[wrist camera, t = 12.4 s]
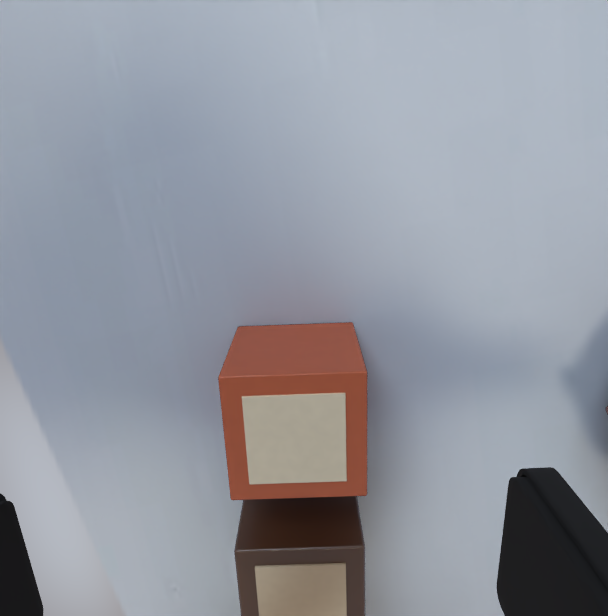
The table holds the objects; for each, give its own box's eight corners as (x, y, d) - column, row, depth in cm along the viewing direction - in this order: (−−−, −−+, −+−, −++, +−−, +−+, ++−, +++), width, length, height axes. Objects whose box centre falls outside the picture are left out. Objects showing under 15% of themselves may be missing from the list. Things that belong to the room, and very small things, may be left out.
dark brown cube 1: (255, 551, 20) (244, 649, 16) (248, 468, 18) (233, 552, 14) (353, 548, 19) (365, 646, 16) (352, 465, 18) (365, 548, 14)
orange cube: (237, 325, 17) (217, 377, 13) (352, 321, 16) (367, 372, 13) (246, 427, 18) (230, 502, 14) (353, 423, 18) (367, 498, 14)
